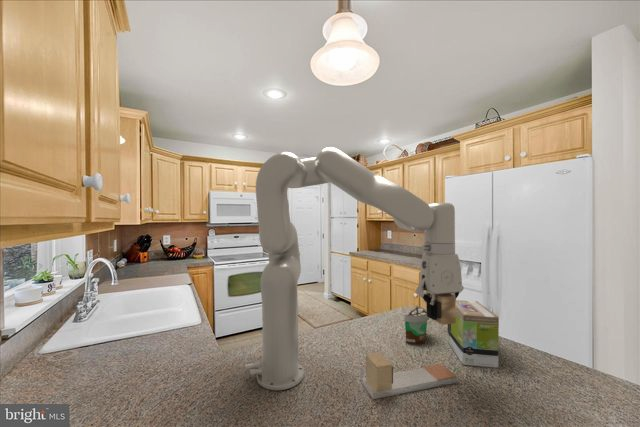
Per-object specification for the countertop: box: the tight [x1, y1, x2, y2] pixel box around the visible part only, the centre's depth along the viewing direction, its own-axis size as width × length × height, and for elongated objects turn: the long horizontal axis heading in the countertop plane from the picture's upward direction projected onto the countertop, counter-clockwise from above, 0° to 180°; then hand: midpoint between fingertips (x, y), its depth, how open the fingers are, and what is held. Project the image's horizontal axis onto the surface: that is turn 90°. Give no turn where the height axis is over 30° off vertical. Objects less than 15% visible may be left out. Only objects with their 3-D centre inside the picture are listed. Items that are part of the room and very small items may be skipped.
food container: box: [404, 305, 430, 345], centre depth 94 cm, size 12×6×10 cm, turn 143°
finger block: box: [430, 293, 456, 326], centre depth 73 cm, size 5×6×7 cm
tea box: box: [446, 299, 500, 369], centre depth 85 cm, size 15×10×15 cm, turn 171°
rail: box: [361, 352, 458, 400], centre depth 70 cm, size 24×6×8 cm, turn 105°
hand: (440, 316), depth 73 cm, fingers closed on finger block, 4 cm apart
